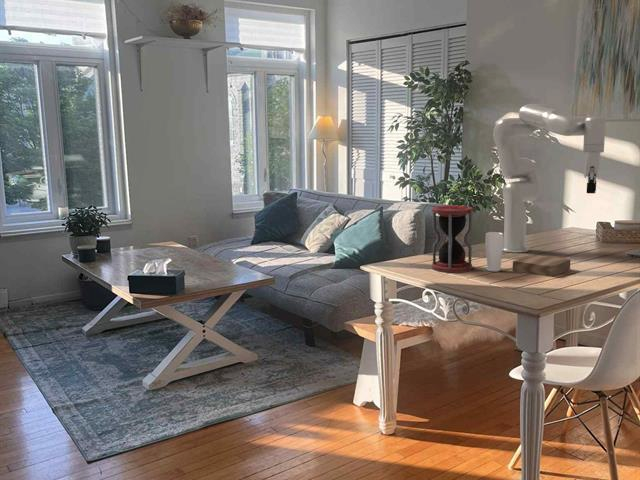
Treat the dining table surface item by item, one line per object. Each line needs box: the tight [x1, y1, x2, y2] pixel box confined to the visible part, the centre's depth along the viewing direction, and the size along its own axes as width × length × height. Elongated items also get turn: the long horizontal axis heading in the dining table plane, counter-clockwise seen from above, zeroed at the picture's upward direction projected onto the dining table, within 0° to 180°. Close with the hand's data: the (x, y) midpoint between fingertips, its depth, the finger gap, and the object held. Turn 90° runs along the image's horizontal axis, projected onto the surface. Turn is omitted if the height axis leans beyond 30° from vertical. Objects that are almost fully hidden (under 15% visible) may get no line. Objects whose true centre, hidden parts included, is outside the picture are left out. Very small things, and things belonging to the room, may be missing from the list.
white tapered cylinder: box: [485, 231, 504, 273], centre depth 249 cm, size 7×7×15 cm
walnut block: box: [512, 254, 571, 277], centre depth 248 cm, size 16×16×4 cm
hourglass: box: [431, 204, 474, 273], centre depth 253 cm, size 16×16×25 cm
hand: (591, 191), depth 250 cm, fingers open, 9 cm apart
